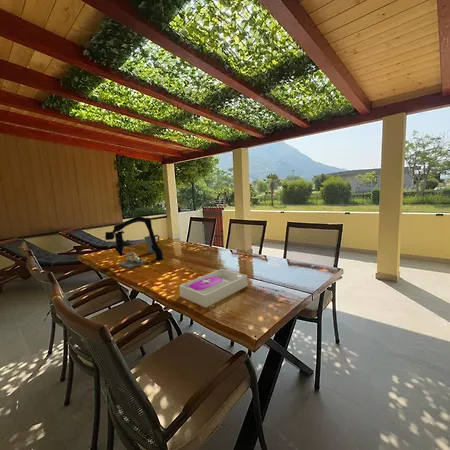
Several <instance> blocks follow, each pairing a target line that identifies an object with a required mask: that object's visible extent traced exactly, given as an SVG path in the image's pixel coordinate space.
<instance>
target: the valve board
mask: <svg viewBox="0 0 450 450" xmlns="http://www.w3.org/2000/svg"><path fill="white" fill-rule="evenodd" d="M146 263H147V261H146V260H142V259H141V263H135V262H134V263H131V262H130V261H127V260H126V261H122V262H118V263H117V266H119V267H120V266H121V267H124V268H127V269H132V268H134V267H137V266H141V265H144V264H146Z"/></svg>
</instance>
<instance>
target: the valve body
mask: <svg viewBox="0 0 450 450" xmlns="http://www.w3.org/2000/svg"><path fill="white" fill-rule="evenodd" d="M125 258H126V259H125V260H126V261H130V262H131V263H134V262H135V263H141V260H142V258H139V256H138V255H126V257H125Z"/></svg>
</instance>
